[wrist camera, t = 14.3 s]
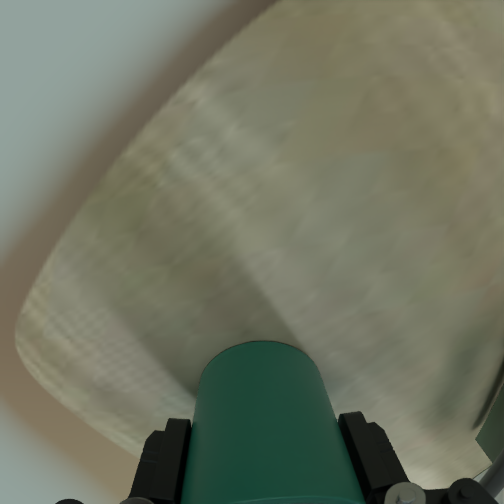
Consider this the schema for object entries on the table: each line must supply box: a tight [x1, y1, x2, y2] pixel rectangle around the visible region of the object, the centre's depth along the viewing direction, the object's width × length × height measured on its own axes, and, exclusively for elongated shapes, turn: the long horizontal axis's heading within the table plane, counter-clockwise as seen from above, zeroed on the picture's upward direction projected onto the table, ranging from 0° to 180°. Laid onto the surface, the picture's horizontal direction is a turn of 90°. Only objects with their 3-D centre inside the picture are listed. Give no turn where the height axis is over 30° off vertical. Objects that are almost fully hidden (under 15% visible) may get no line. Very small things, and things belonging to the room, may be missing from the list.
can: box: [180, 341, 366, 504], centre depth 9 cm, size 5×5×7 cm
